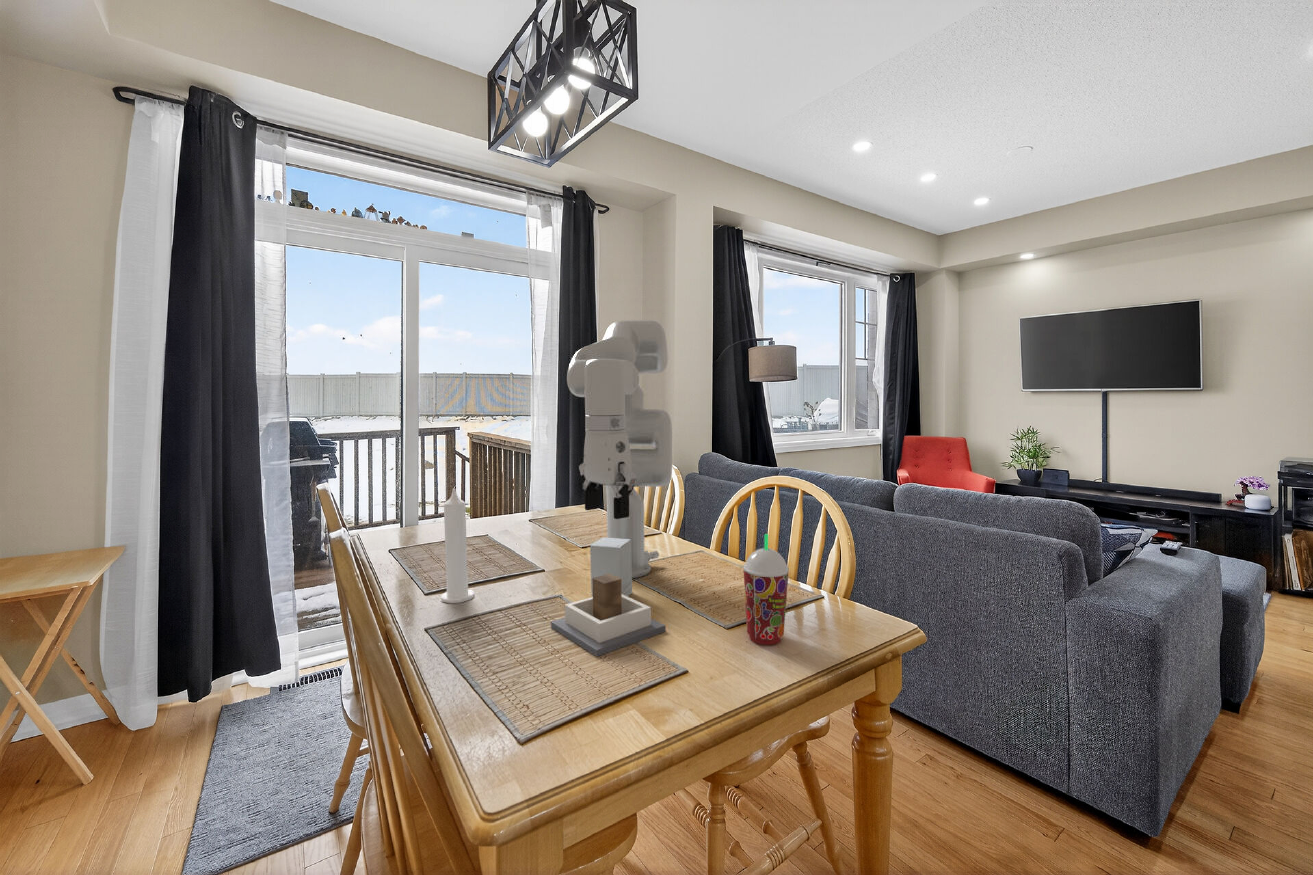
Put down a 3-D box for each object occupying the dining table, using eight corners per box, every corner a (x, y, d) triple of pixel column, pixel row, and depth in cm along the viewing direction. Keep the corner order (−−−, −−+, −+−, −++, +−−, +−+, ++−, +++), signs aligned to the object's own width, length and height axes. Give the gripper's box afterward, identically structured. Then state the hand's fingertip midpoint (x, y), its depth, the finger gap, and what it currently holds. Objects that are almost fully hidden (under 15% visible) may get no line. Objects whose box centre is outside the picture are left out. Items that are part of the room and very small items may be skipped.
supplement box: (633, 592, 130) (632, 538, 129) (620, 604, 123) (620, 547, 122) (603, 588, 133) (603, 536, 132) (590, 600, 126) (589, 544, 125)
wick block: (609, 617, 113) (609, 573, 112) (621, 623, 110) (621, 578, 109) (593, 622, 110) (592, 578, 110) (604, 629, 107) (604, 583, 107)
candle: (463, 604, 123) (459, 491, 121) (434, 602, 125) (430, 490, 123) (480, 593, 130) (476, 486, 128) (452, 590, 132) (448, 485, 130)
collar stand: (616, 607, 121) (616, 585, 121) (665, 631, 109) (665, 607, 109) (551, 627, 111) (550, 604, 111) (596, 656, 99) (596, 630, 99)
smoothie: (778, 653, 100) (780, 542, 98) (735, 642, 104) (736, 536, 103) (794, 635, 107) (795, 532, 105) (752, 626, 111) (753, 526, 110)
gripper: (649, 426, 103) (650, 518, 104) (596, 421, 116) (597, 503, 117) (616, 428, 98) (617, 524, 99) (564, 423, 111) (566, 508, 113)
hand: (606, 513), depth 108 cm, fingers open, 9 cm apart
